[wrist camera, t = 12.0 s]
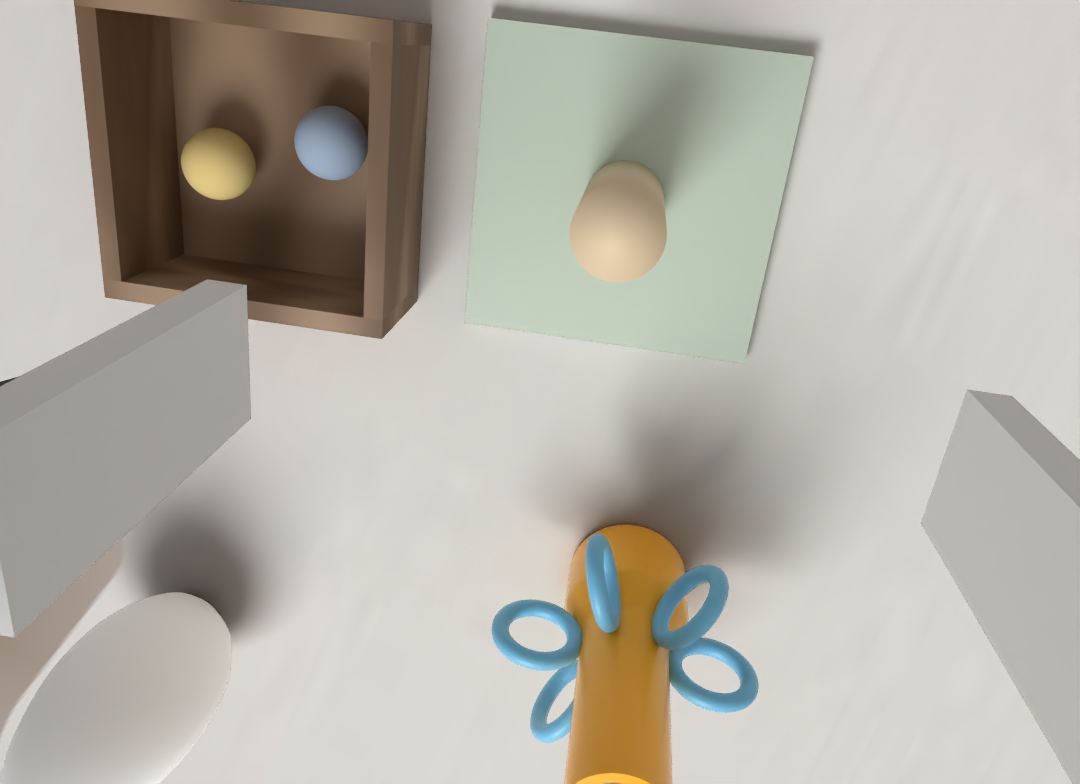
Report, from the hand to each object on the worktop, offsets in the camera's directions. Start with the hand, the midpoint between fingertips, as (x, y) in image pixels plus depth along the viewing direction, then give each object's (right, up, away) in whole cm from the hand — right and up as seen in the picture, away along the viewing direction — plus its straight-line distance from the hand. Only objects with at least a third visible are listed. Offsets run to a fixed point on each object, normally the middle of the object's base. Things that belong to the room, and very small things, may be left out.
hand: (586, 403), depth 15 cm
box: (-12, +11, +22) cm, 27 cm away
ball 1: (-15, +10, +20) cm, 27 cm away
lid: (+3, +9, +21) cm, 23 cm away
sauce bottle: (-21, -13, +33) cm, 41 cm away
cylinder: (+4, -9, +28) cm, 30 cm away
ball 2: (-10, +11, +19) cm, 24 cm away
